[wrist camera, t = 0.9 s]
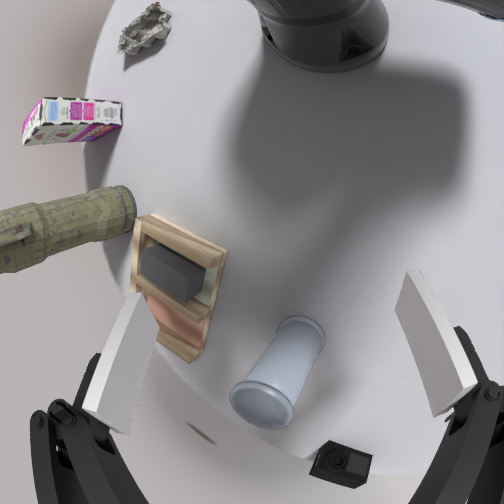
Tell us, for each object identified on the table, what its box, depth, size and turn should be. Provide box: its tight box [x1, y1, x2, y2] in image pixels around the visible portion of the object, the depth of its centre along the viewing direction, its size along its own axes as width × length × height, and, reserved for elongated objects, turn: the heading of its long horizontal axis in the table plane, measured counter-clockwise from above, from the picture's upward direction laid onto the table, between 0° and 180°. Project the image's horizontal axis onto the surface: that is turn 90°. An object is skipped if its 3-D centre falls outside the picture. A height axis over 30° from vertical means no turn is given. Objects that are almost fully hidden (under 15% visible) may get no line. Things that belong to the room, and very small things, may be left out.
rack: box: [130, 213, 228, 364], centre depth 41 cm, size 20×14×4 cm
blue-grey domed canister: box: [229, 316, 325, 429], centre depth 30 cm, size 7×7×14 cm
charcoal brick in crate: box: [140, 243, 206, 302], centre depth 38 cm, size 4×9×4 cm, turn 73°
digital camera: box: [309, 440, 373, 489], centre depth 35 cm, size 10×5×7 cm, turn 74°
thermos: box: [0, 186, 137, 274], centre depth 29 cm, size 9×12×35 cm
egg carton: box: [117, 2, 172, 55], centre depth 30 cm, size 11×8×4 cm
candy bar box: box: [23, 97, 122, 146], centre depth 34 cm, size 11×5×16 cm, turn 97°
